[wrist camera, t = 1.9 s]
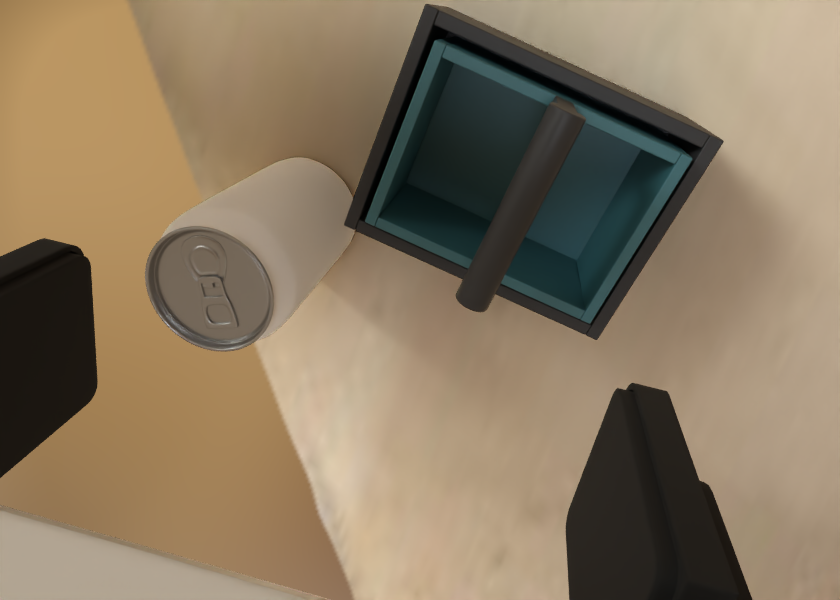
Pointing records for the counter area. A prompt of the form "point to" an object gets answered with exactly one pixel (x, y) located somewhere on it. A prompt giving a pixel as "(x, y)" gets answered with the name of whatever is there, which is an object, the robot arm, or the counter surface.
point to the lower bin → (452, 23)
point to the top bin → (522, 181)
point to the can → (249, 254)
